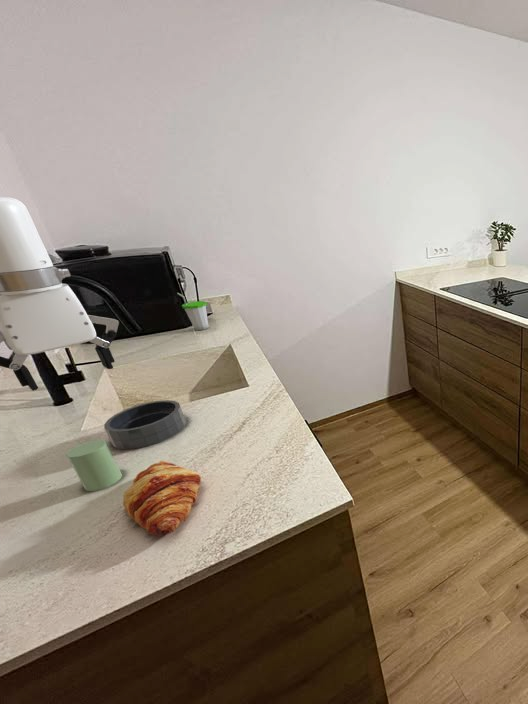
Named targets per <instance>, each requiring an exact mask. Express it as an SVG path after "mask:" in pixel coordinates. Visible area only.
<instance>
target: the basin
mask: <svg viewBox="0 0 528 704" xmlns="http://www.w3.org/2000/svg"><path fill="white" fill-rule="evenodd" d="M183 412H184V411H183V410H182V407H181V404H180V402H178V401H176V400H169V399H166V400H165V399H164V400H154V401H148V402H144V403H141V404H136V405H134V406H132V407H129V408H126V409H124V410H122V411H119V412H117V413H116V414H114V415H112V416H111V417H110V418H108V419H107V420H106V421H105V422H104V425H103V427H104V431H105V432H106V435H107V436H108V439H109V440H110V443H111V444H112V445H111V446H113V447H114V448H115V449H117V450H118V449H119V450H135V449H141V448H145V447H149V446H152V445H155V444H158V443H161V442H163V441H165V440H169V439H170V438H172V437H173V436H175V435H176V434H178V433H180V432H181V431H182V430H183V429H184V428H185V427H186V424H187V420H186V418H185V415H184V413H183Z"/></svg>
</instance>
